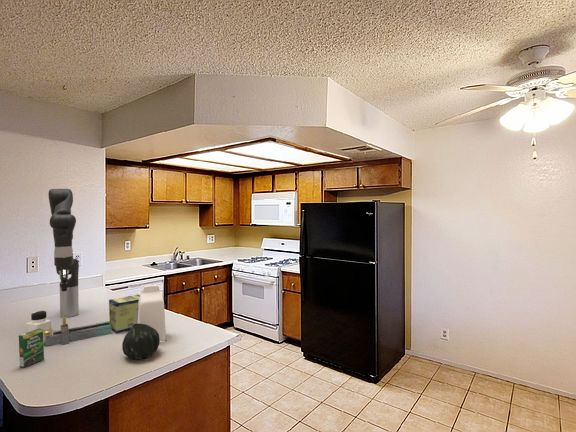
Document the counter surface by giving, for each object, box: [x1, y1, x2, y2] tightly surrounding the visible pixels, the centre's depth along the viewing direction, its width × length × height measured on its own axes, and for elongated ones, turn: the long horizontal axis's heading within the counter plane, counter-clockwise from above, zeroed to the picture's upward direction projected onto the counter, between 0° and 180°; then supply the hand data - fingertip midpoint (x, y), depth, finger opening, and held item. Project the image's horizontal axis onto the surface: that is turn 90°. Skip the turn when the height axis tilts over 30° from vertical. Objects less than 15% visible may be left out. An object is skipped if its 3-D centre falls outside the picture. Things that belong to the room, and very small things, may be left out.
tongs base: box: [43, 323, 113, 347], centre depth 164 cm, size 11×29×6 cm, turn 126°
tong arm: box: [52, 320, 110, 335], centre depth 167 cm, size 2×24×4 cm, turn 127°
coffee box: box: [18, 328, 45, 369], centre depth 137 cm, size 8×3×13 cm, turn 159°
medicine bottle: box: [26, 310, 52, 338], centre depth 166 cm, size 7×7×12 cm
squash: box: [121, 324, 160, 360], centre depth 144 cm, size 14×15×15 cm
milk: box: [138, 284, 167, 343], centre depth 162 cm, size 12×12×26 cm
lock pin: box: [61, 315, 68, 326], centre depth 164 cm, size 2×2×9 cm
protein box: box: [108, 294, 141, 335], centre depth 178 cm, size 10×16×16 cm
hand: (64, 290), depth 164 cm, fingers closed
